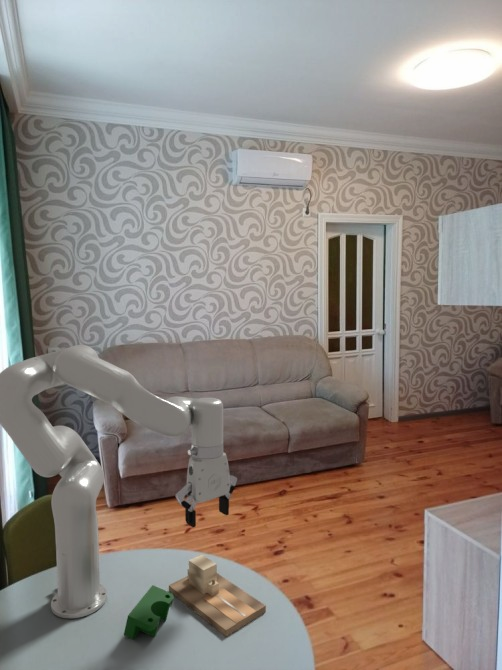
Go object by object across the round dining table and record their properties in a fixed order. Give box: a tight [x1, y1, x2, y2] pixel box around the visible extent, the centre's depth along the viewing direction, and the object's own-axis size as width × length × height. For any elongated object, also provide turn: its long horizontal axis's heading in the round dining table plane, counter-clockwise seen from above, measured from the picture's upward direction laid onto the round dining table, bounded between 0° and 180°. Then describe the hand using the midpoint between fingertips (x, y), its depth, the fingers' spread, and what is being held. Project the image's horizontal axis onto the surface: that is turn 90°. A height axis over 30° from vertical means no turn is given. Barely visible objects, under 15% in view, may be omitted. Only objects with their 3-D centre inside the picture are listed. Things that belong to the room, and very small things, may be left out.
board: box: [168, 572, 267, 638], centre depth 116 cm, size 22×12×2 cm, turn 43°
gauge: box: [187, 554, 219, 596], centre depth 119 cm, size 10×4×6 cm, turn 43°
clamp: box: [123, 585, 175, 640], centre depth 107 cm, size 12×6×9 cm, turn 158°
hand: (207, 519), depth 117 cm, fingers open, 9 cm apart
